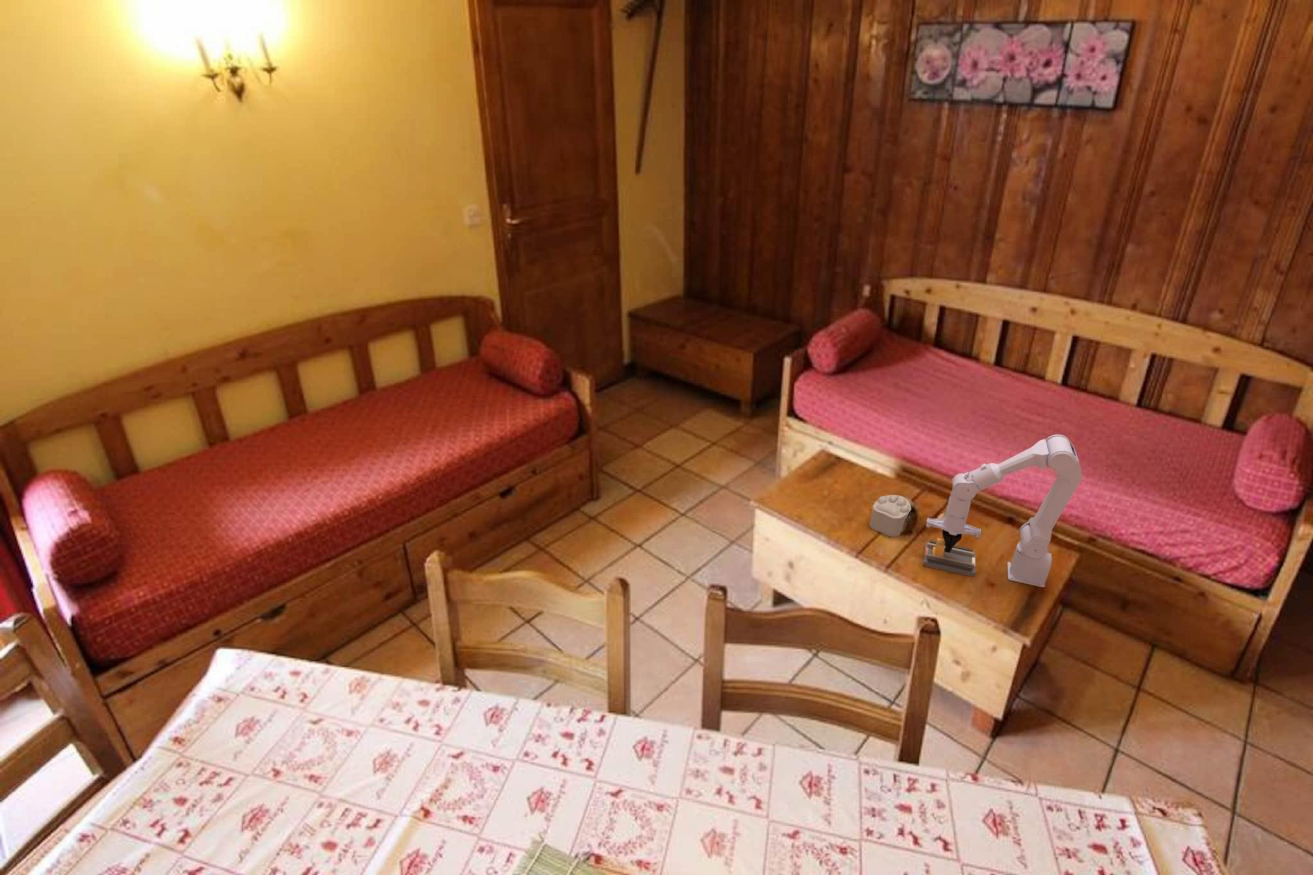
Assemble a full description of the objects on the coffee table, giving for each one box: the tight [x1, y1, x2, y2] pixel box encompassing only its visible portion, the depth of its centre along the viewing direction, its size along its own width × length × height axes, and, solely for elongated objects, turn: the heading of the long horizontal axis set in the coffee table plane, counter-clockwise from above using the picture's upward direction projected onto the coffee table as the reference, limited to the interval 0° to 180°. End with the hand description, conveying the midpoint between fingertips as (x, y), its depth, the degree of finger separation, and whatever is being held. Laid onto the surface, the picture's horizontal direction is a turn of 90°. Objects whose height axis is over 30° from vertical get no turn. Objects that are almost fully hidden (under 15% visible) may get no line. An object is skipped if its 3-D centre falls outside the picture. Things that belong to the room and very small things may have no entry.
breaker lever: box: [932, 537, 945, 557], centre depth 212 cm, size 3×4×4 cm
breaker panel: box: [922, 539, 976, 578], centre depth 212 cm, size 14×10×3 cm
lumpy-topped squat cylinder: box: [869, 494, 912, 538], centre depth 227 cm, size 10×13×9 cm
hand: (947, 550), depth 212 cm, fingers closed
